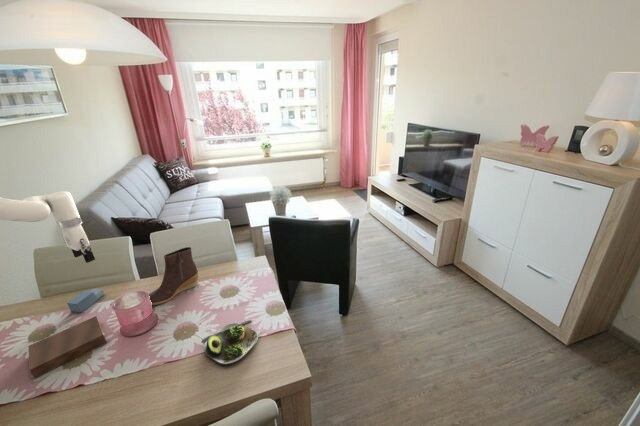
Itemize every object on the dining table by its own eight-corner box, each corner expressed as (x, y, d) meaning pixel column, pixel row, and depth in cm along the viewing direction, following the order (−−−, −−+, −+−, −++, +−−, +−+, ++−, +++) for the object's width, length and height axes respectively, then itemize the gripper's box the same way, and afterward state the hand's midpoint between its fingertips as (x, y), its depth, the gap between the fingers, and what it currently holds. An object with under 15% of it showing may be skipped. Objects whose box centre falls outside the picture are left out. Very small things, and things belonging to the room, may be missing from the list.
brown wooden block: (34, 378, 95) (29, 370, 93) (33, 354, 104) (28, 345, 103) (107, 342, 107) (103, 334, 106) (99, 323, 117) (96, 315, 115)
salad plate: (237, 315, 117) (235, 306, 115) (270, 333, 108) (269, 323, 106) (195, 350, 102) (192, 340, 101) (229, 373, 93) (227, 363, 91)
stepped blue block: (81, 313, 123) (76, 303, 121) (71, 312, 124) (66, 302, 122) (105, 295, 134) (101, 286, 132) (95, 294, 135) (92, 285, 133)
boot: (142, 302, 128) (128, 263, 120) (196, 277, 143) (187, 241, 135) (148, 311, 122) (134, 271, 114) (204, 285, 137) (195, 248, 129)
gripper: (48, 222, 119) (65, 258, 125) (68, 229, 110) (85, 268, 117) (70, 215, 124) (85, 250, 131) (90, 222, 116) (105, 258, 123)
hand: (85, 258), depth 124 cm, fingers open, 9 cm apart
